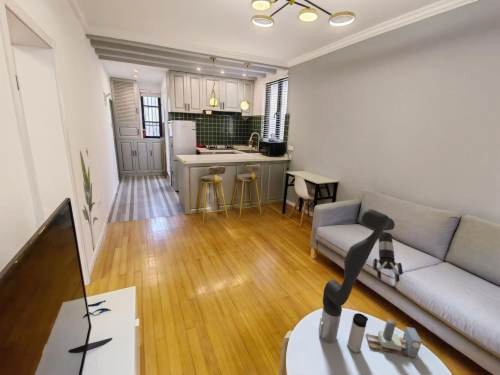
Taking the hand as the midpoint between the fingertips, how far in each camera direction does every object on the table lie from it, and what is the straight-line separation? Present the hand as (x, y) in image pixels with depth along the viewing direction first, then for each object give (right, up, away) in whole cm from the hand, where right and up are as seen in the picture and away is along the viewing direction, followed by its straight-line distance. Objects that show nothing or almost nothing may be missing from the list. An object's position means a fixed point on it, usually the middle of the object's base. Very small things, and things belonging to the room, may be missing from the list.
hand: (388, 280), depth 127 cm
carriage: (-1, -32, -3) cm, 32 cm away
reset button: (+5, -32, -4) cm, 32 cm away
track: (-1, -34, -2) cm, 34 cm away
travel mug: (-20, -34, -4) cm, 40 cm away
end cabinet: (+8, -34, -4) cm, 35 cm away
